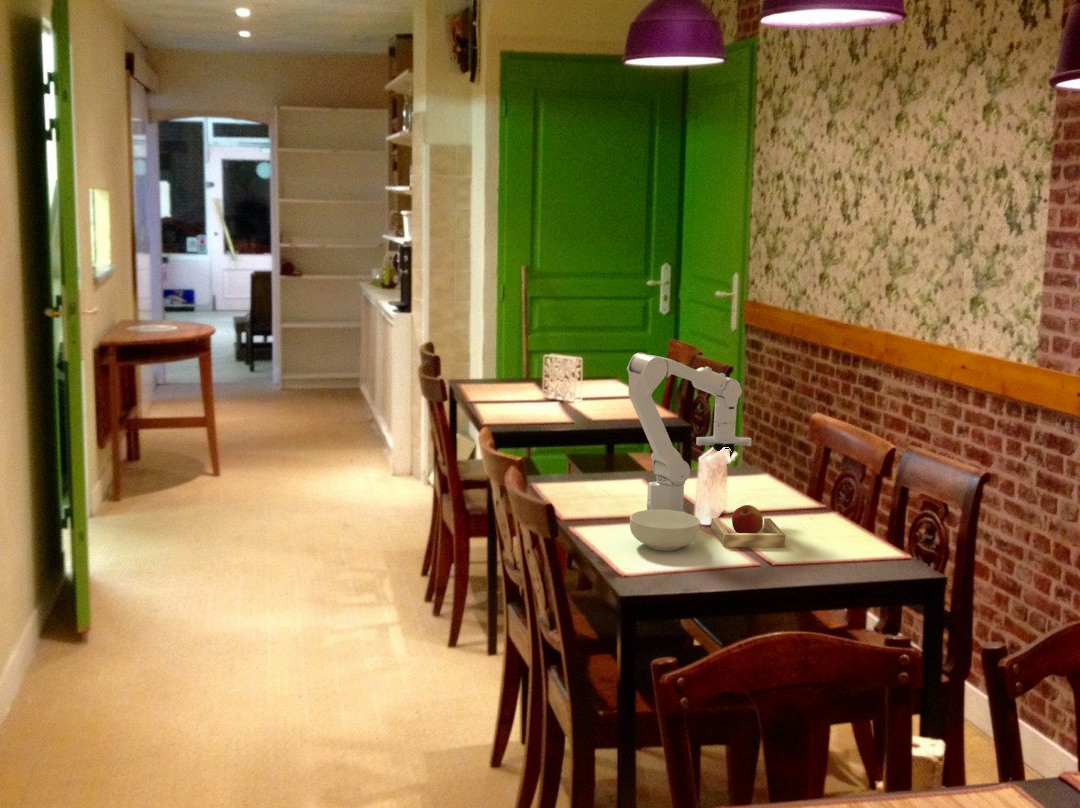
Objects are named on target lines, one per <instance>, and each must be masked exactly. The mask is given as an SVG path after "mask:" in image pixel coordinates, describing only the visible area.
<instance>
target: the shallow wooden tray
mask: <svg viewBox="0 0 1080 808" xmlns="http://www.w3.org/2000/svg"><path fill="white" fill-rule="evenodd" d="M710 529H711V531H712V532H713V534H714V535H715V537H716V538H717V540H718V541H719V542H720V544H721V545H722V546H723V548H785V547H786V534H785V533H784V532H783V531H782V529H780V527H779V526H778V525H777V524H776V523H775V522H774V521H773V520H772V518H769V517H767V518H765V517H764V518H763V531H764V532H765V533H763V532H761V533H760V532H758V533H736V532H734V533H733V532H729V531H728V530H727V528H726V527H725V526H724V524H723V523H722V522H721V521H720V519H719V518H718V517H711V527H710Z"/></svg>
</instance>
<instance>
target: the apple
mask: <svg viewBox="0 0 1080 808" xmlns="http://www.w3.org/2000/svg"><path fill="white" fill-rule="evenodd" d="M731 525H732V528H733V530H734V531H735V533H760V531H762V530H763V529H762V528H763V527H764V518H763V515H762V513H761V511H760V510H759V509H758V508H757V507H756V506H754V505H751V504H746V505H741V506H739V507H738V508H736V509H735V510H734V511H733V513H732V516H731Z"/></svg>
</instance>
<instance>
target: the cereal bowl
mask: <svg viewBox="0 0 1080 808" xmlns="http://www.w3.org/2000/svg"><path fill="white" fill-rule="evenodd" d="M629 529H630V532H631V534H632V536H633V537H634V538H635V539H636V540H637V541H639V542H640V543H642V544H644V545H647V548H650V549H652V550H657V551H663V552H664V551H665V552H666V551H668V552H669V551H676V550H679V549H680V548H682V547H685V546H688V545H690V544H692V543H693V542H694V541H695V540H696V539H697V538H698V536H699V533H700V529H701V519H700V518H699V517H697V516H695V515H693V514H690V513H689V512H688V513H687V512H684V511H683V512H680V511H673V510H659V509H656V510H647V509H644V510H639V511H636V512H633V513H632V514H630V516H629Z"/></svg>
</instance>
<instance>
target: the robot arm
mask: <svg viewBox="0 0 1080 808" xmlns="http://www.w3.org/2000/svg"><path fill="white" fill-rule="evenodd" d="M626 371H627V373H628V397H629V399H630V401H631V404H632V406H633V408H634V411H635V413H636V416H637V418H638V420H639V422H640V425H641V427H642V429H643V432H644V434H645V436H646V439H647V441H648V442H649V443H648V444H649V445H650V448H651V450H652V453H651V455H650V459H651V461H652V465H651V468H652V472H653V473H654V475H656V477H655V478H656V481H650V482H648V484H647V496H646V497H647V498H646V499H647V500H646V501H647V502H646V510H656V509H659V510H673V511H680V512H684V497H685V495H684V494H685V493H684V492H685V484H686V481H687V480H688V478H689V477H690V475H691V468H690V465H689V463H688V462H687V461H685V460H684V458H683V457H682V454H681V453H680V452H679V451H678V450H677V449H676V447H674V445H673V443H672V441H671V439H670V436H669V433H668V432H667V428H666V427H665V424H664V422H663V420H662V417H661V414H660V413H659V410H658V408H657V405H656V403H655V400H654V399H653V396H652V394H653V393H654V391H655V390H656V389H657V387H659V385H660V384H661V382H662V381H663V380H664V379H665V377H667V378H668V377H670V376H671V375H674V376H677V377H680V378H682V379H684V380H687V381H690V382H691V384H692V386H693V388H695V389H697V390H699V391H703V392H705V393H708V394H711V395H712V396H714V414H713V415H714V416H713V418H714V419H713V434H712V435H711V436H696V438H695V439H696V440H695V441H696V443H695V444H696V445H697V446H712V448H714V449H715V450H717V451H720V450H721V449H722V448H723V447H729V448H730V449H731V451H732V452H731V451H730V459H731V458H732V456H733V454H734V452H735V450H736V446H747V447H752V438H751V437H742V436H736V422H737V421H736V420H737V405H738V402H739V398H740V397H741V396H742V392H743V389H742V388H741V384H740V383H739V380H737V379H735V378H731V377H728V376H726V374H725V373H724V372H723V373H722V372H720V373H718V372H715V371H713V370H712V368H711V367H709V366H705V367H699V368H697V369H695V368H692V367H691V366H688V365H685V364H683V363H680V362H678V361H676V360H674V359H672V358H671V359H670V358H668V357H667V358H666V357H663V356H658V355H652V354H646V353H645V352H637V353H635V354H634V355H632V356H631V358H630V360H629V362H628V365H627V367H626ZM729 448H725V449H729ZM714 449H713V450H714ZM728 464H729V463H728ZM728 464H727V466H728Z"/></svg>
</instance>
